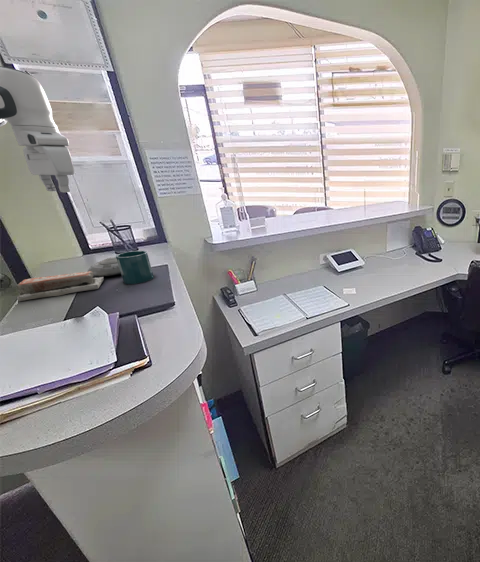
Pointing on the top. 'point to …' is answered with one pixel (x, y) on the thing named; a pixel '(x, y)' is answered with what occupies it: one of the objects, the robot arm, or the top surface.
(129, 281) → the tea cup
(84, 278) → the packaged product
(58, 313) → the top surface
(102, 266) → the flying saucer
